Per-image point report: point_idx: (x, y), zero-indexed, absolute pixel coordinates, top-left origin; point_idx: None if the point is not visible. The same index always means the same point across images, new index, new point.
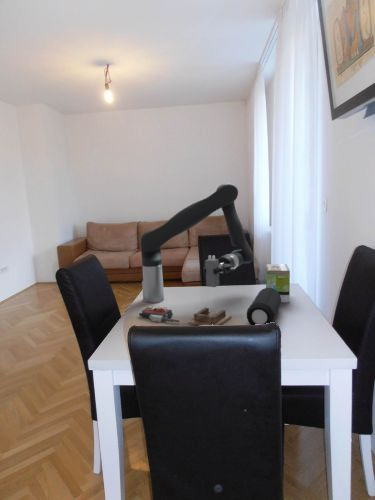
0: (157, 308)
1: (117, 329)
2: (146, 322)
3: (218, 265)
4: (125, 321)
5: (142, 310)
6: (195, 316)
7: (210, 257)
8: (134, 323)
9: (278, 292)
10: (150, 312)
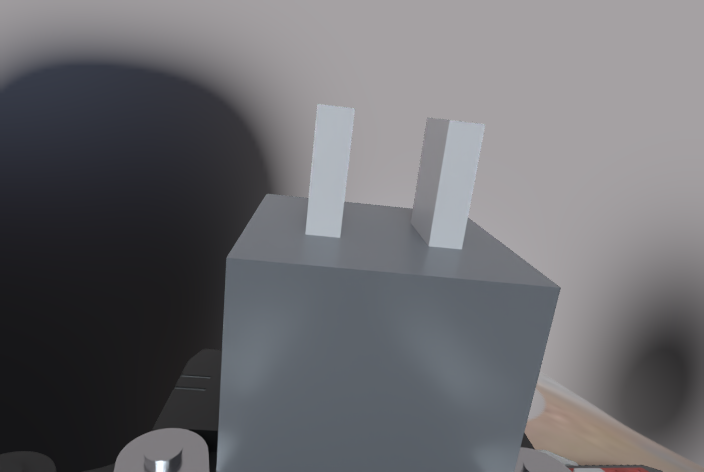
0: (585, 469)
1: (542, 375)
2: (537, 447)
3: (218, 447)
4: (618, 429)
5: (657, 470)
6: None
7: (429, 179)
8: (563, 425)
9: None
10: (596, 467)
